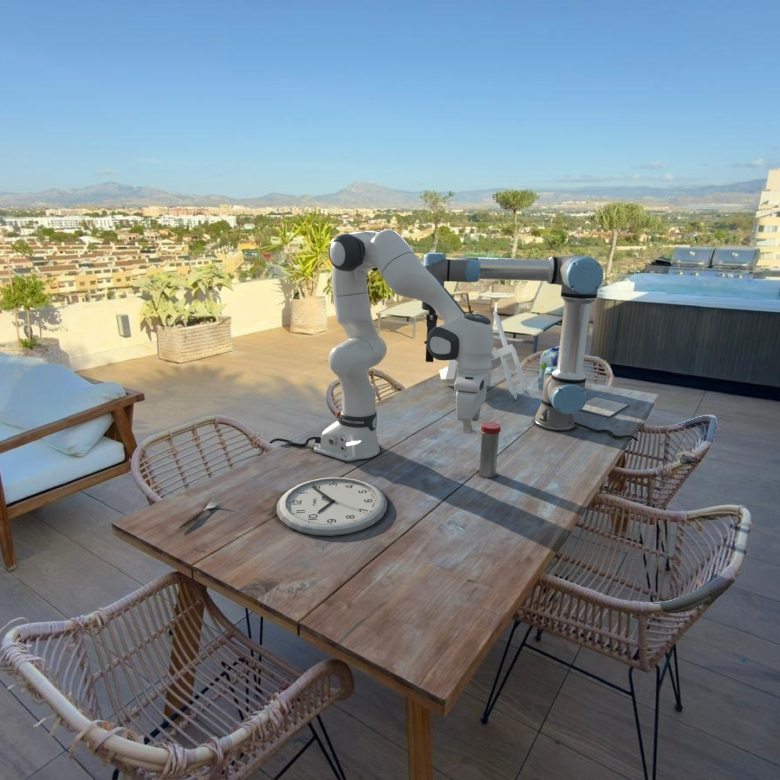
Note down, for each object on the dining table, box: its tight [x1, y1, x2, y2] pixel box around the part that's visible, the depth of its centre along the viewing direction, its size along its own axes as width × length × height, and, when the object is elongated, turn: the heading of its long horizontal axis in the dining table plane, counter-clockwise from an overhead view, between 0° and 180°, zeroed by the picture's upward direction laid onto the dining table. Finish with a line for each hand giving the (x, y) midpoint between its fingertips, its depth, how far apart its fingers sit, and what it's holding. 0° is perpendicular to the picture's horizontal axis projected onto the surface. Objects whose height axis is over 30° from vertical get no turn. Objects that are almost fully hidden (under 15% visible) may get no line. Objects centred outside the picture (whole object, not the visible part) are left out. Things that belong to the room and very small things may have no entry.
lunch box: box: [537, 345, 560, 391], centre depth 246 cm, size 26×11×21 cm, turn 134°
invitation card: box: [580, 396, 629, 418], centre depth 226 cm, size 21×1×15 cm
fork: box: [178, 493, 223, 529], centre depth 137 cm, size 3×16×2 cm, turn 160°
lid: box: [480, 421, 501, 434], centre depth 158 cm, size 6×6×2 cm
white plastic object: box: [438, 310, 531, 400], centre depth 245 cm, size 37×45×31 cm
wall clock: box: [276, 476, 388, 537], centre depth 142 cm, size 30×2×30 cm
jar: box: [478, 430, 500, 479], centre depth 160 cm, size 5×5×16 cm
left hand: (471, 426), depth 141 cm, fingers open, 8 cm apart
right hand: (430, 357), depth 190 cm, fingers open, 13 cm apart
